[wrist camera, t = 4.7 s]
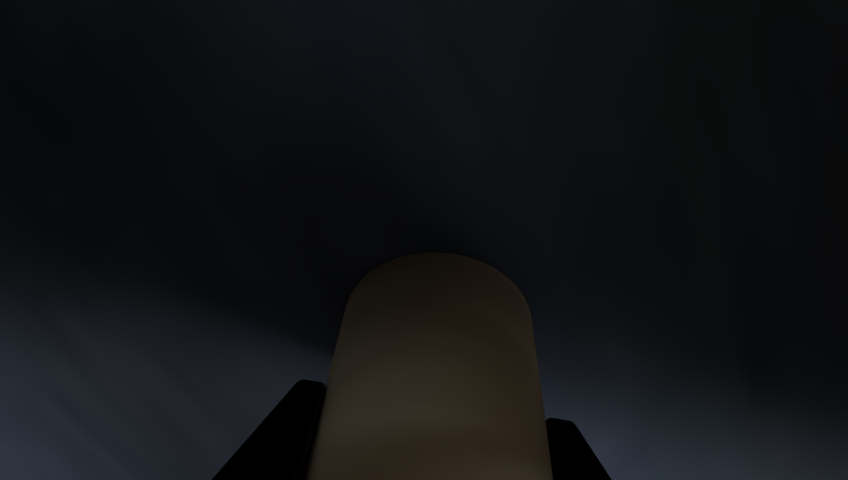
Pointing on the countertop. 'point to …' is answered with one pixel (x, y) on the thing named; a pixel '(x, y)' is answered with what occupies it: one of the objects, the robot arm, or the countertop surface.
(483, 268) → the wooden peg
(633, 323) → the countertop surface
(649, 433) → the countertop surface
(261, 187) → the countertop surface
